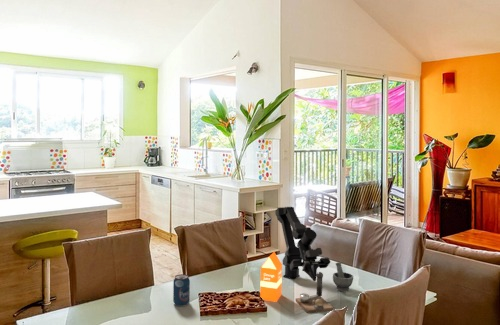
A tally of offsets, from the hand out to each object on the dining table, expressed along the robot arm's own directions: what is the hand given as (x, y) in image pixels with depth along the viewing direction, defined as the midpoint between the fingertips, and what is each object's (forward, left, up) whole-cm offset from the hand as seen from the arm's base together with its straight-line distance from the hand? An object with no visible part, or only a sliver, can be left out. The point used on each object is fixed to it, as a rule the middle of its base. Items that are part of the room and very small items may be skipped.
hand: (315, 280), depth 184 cm
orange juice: (-16, -12, -8) cm, 22 cm away
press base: (+4, -9, -8) cm, 12 cm away
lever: (+2, -7, -6) cm, 9 cm away
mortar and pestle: (+6, +18, -8) cm, 20 cm away
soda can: (-43, -42, -8) cm, 61 cm away
